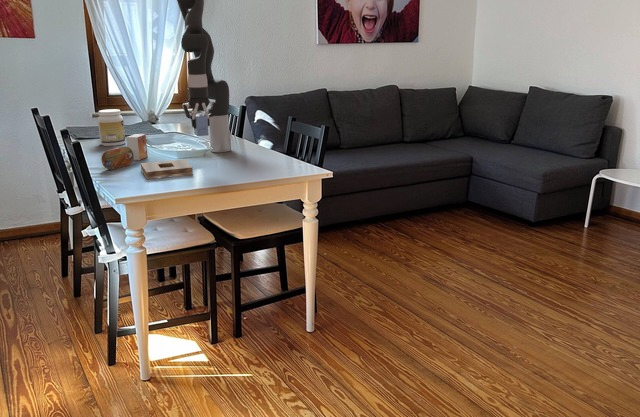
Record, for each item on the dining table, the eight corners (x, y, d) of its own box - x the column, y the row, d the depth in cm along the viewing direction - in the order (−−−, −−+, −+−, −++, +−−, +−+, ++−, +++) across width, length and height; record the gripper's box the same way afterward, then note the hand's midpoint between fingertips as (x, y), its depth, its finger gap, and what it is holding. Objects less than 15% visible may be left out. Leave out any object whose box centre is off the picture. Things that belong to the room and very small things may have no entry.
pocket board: (184, 166, 251) (184, 159, 250) (192, 174, 237) (192, 167, 236) (141, 170, 244) (140, 163, 243) (147, 179, 230) (146, 172, 229)
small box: (139, 160, 262) (137, 137, 258) (128, 160, 263) (125, 136, 259) (148, 156, 269) (146, 134, 266) (137, 156, 270) (134, 133, 267)
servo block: (204, 132, 247) (202, 111, 244) (209, 136, 239) (208, 114, 236) (193, 133, 245) (191, 112, 243) (198, 136, 237) (197, 115, 235)
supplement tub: (129, 144, 296) (125, 110, 290) (104, 147, 289) (100, 113, 284) (121, 140, 305) (118, 107, 300) (97, 143, 299) (93, 110, 294)
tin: (106, 171, 243) (104, 151, 240) (101, 170, 245) (99, 150, 242) (135, 164, 255) (133, 145, 253) (130, 163, 257) (128, 144, 254)
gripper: (213, 83, 242) (215, 125, 247) (178, 85, 236) (181, 127, 242) (217, 85, 236) (220, 128, 241) (182, 87, 230) (185, 130, 235)
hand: (200, 127), depth 241 cm, fingers closed on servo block, 4 cm apart
